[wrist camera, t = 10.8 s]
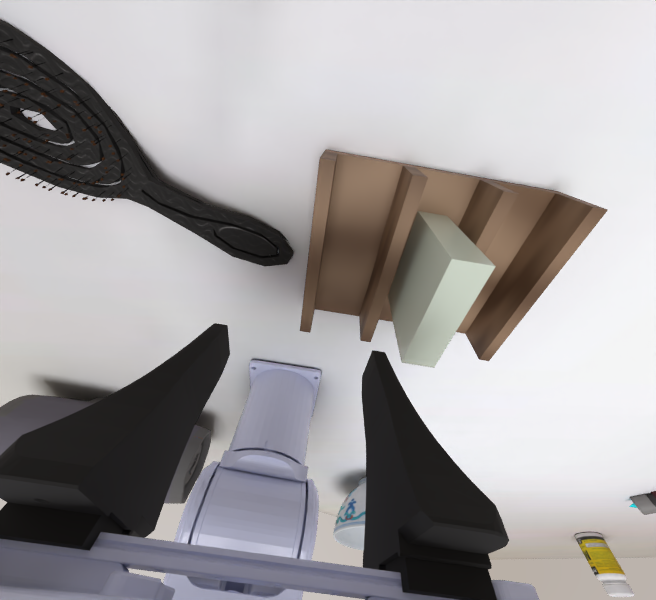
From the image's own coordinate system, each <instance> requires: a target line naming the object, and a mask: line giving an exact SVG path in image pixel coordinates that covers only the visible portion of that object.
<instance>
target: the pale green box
mask: <svg viewBox="0 0 656 600" xmlns="http://www.w3.org/2000/svg"><path fill="white" fill-rule="evenodd" d="M495 267H496V266H495V265H494V264H493V263H492V262H491V261H490V260H489V259H488V258H487V257H486V256H485V255H484V254H483V253H482V252H481V251H480V250H479V248H478V247H477V246H476V245H475V244H474V243H473V242H472V241H471V240H470V239H469V238H468V237H467V236H466V235H465V234H464V233H463V232H462V231H461V230H460V229H459V228H458V227H457V226H456V225H455V223H454V222H453V221H452V220H451V219H450V218H449V217H448V216H444V215H439V214H433V213H427V212H421V211H418V212H417V215H416V218H415V221H414V223H413V226H412V229H411V232H410V235H409V238H408V240H407V243H406V246H405V249H404V252H403V255H402V257H401V260H400V263H399V266H398V269H397V272H396V274H395V277H394V280H393V283H392V286H391V289H390V291H389V294H388V299H389V304H390V309H391V314H392V319H393V323H394V328H395V333H396V338H397V343H398V348H399V353H400V357H401V362H402V363H408V364H414V365H420V366H427V367H433V368H434V367H435V365H436V364H437V362H438V360H439V359H440V357H441V355H442V354H443V352H444V350H445V349H446V347H447V345H448V344H449V342H450V341H451V339H452V337H453V336H454V334H455V332H456V331H457V329H458V327H459V326H460V324H461V323H462V321H463V319H464V318H465V316H466V314H467V313H468V311H469V309H470V308H471V306H472V304H473V303H474V301H475V300H476V298H477V296H478V295H479V293H480V291H481V290H482V288H483V286H484V285H485V283H486V282H487V280H488V278H489V277H490V275H491V273H492V272H493V270H494V268H495Z"/></svg>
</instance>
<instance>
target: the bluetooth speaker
mask: <svg viewBox="0 0 656 600" xmlns="http://www.w3.org/2000/svg"><path fill="white" fill-rule="evenodd" d="M102 399H104V398H103V397H98V398H95V399H92V400H89V401H83V400H76V399H67V398H61V397H53V396H42V395H26V396H22V397H19V398H16V399H14V400H12V401H10V402H8V403H6V404H5V405H3V406H2V407H0V455H1V454H2V453H3V452H4V451H5V450H6V449H7V448H8V447H9V446H10V445H12V444H13V443H14V442H15V441H16V440H17V439H18V438H19V437H20V436H21V435H23V434H26V433H28V432H31V431H33V430H35V429H38V428H40V427H43V426H45V425H47V424H50V423H52V422H55V421H57V420H59V419H62V418H64V417H66V416H69V415H71V414H73V413H75V412H77V411H79V410H82V409H84V408H86V407H88V406H90V405H92V404H94V403H96V402H98V401H100V400H102ZM210 431H211V430H209V429H207V428H204V427H201V426H198V425H195V426H194V428H193V430H192V433H191V435H190V438H189V440H188V442H187V445H186V447H185V449H184V452H183V454H182V457H181V459H180V462H179V464H178V467H177V469H176V472H175V475H174V477H173V480H172V482H171V485H170V488H169V490H168V493H167V496H166V498H165V501H164V503H185V501H186V499H187V497H188V495H189V493H190V491H191V490H192V488H193V486H194V484H195V482H196V480H197V479H198V477H199V475H200V473H201V471H202V468H203V465H204V463H205V460H206V457H207V454H208V450H209V447H210V442H211V432H210Z"/></svg>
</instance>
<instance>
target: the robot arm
mask: <svg viewBox="0 0 656 600" xmlns="http://www.w3.org/2000/svg"><path fill="white" fill-rule="evenodd" d="M229 355H230V350H229V338H228V327H227V325H222V324H216V323H215V324H213V325H212V326H211V327H209V328H208V329H207V330H206V331H204V332H203V333H202V334H201V335H200V336H198V337H197V338H196V339H195V340H193V341H192V342H191V343H190V344H188V345H187V346H186V347H184V348H183V349H182V350H181V351H179V352H178V353H177V354H175V355H174V356H172V357H171V358H170V359H168V360H167V361H165V362H164V363H163V364H161V365H160V366H158V367H157V368H155V369H154V370H152V371H151V372H149V373H148V374H146V375H145V376H143V377H141V378H140V379H138V380H136V381H135V382H133V383H131V384H130V385H128V386H126V387H124V388H122V389H121V390H119V391H117V392H115V393H113V394H112V395H110V396H108V397H106V398H104V399H102V400H100V401H98V402H96V403H94V404H92V405H90V406H88V407H86V408H84V409H82V410H79V411H77V412H75V413H73V414H71V415H69V416H66V417H64V418H62V419H59V420H57V421H55V422H52V423H50V424H47V425H45V426H43V427H40V428H38V429H35V430H33V431H31V432H28V433H26V434H23V435H21V436H20V437H19V438H18V439H17V440H16V441H15V442H14V443H13V444H12V445H10V446H9V447H8V448H7V449H6V450H5V451H4V452H3V453H2V454H1V455H0V498H1V499H3V500H5V501H6V502H7V504H6V505H5V506H4V507H3V508H2V509H1V510H0V600H302V596H303V591H307V592H315V593H322V594H330V595H337V596H345V597H353V598H361V599H365V600H539V598H538V595H537V593H536V590H535V588H534V586H532V585H531V584H526V583H519V582H512V581H505V580H491V578H490V575H489V572H488V569H491V562H490V559H489V556H488V554H489V553H491V552H494V551H496V550H498V549H501V548H503V547H505V546H506V545H507V543H508V541H509V539H508V536H507V533H506V531H505V528H504V525H503V522H502V519H501V517H500V515H499V512H498V510H497V508H496V506H495V504H494V503H493V502H492V501H491V500H490V499H489V498H488V497H487V496H486V495H485V494H484V493H483V492H482V491H481V490H480V489H479V488H478V487H477V486H476V485H475V484H474V483H473V482H472V481H471V480H470V479H469V478H468V477H467V476H466V475H465V474H464V472H463V471H462V470H461V469H460V468H459V467H458V466H457V465H456V464H455V462H454V461H453V460H452V459H451V458H450V456H449V455H448V454H447V453H446V451H445V450H444V449H443V448H442V447H441V445H440V444H439V443H438V442H437V440H436V439H435V438H434V436H433V435H432V434H431V432H430V431H429V430H428V428H427V427H426V425H425V424H424V422H423V421H422V419H421V418H420V416H419V415H418V413H417V412H416V410H415V409H414V407H413V405H412V404H411V402H410V400H409V399H408V397H407V395H406V393H405V392H404V390H403V388H402V386H401V384H400V382H399V380H398V379H397V377H396V375H395V373H394V371H393V368H392V366H391V364H390V362H389V360H388V358H387V356H386V354H385V352H379V351H373V350H372V353H371V356H370V358H369V361H368V363H367V366H366V368H365V371H364V373H363V376H362V404H363V415H364V426H365V437H366V509H365V534H364V553H363V568H362V567H355V566H347V565H339V564H332V563H325V562H318V561H311V559H312V555H313V550H314V545H315V539H316V531H317V524H318V511H319V496H318V490H317V488H316V486H315V485H314V482H313V480H312V479H307V471H308V467H307V466H304V464H305V456H306V449H307V441H308V434H309V426H310V419H311V417H312V416H313V411H314V406H315V402H316V397H317V392H318V387H319V383H320V378H321V371H320V370H316V369H310V368H303V367H297V366H291V365H284V364H278V363H271V362H265V361H258V360H251V361H250V363H249V370H250V393H249V396H248V398H247V401H246V404H245V407H244V409H243V412H242V415H241V418H240V420H239V423H238V426H237V429H236V431H235V434H234V437H233V440H232V442H231V445H230V448H229V451H224V454H223V457H222V459H221V462H216V461H213V462H212V463H211V464H210V465H209V466H207V467H206V468H205V469H204V470H203V471H202V472H201V474H200V476H199V477H198V479H197V481H196V483H195V485H194V487H193V490H192V492H191V494H190V497H189V499H188V501H187V504H186V506H185V509H184V512H183V515H182V517H181V520H180V523H179V527H178V530H177V533H176V537H175V541H174V542H171V541H164V540H156V539H149V538H145V537H146V536H148V535H149V534H150V533H151V532H152V531H154V529H155V527H156V524H157V520H158V518H159V515H160V512H161V510H162V507H163V504H164V501H165V498H166V496H167V493H168V490H169V488H170V485H171V482H172V480H173V477H174V475H175V472H176V469H177V467H178V464H179V462H180V459H181V457H182V454H183V452H184V449H185V447H186V445H187V442H188V440H189V438H190V435H191V433H192V430H193V428H194V426H195V424H196V422H197V420H198V418H199V416H200V414H201V412H202V410H203V408H204V406H205V404H206V403H207V401H208V399H209V397H210V395H211V393H212V392H213V390H214V388H215V386H216V384H217V382H218V380H219V379H220V377H221V375H222V373H223V370H224V368H225V365H226V363H227V360H228V358H229ZM128 568H132V569H139V570H147V571H154V572H162V573H166V575H165V578H164V582H163V583H164V584H163V583H162V582H161V579H158V578H153V577H147V576H143V575H139V574H134V573H129V570H128Z"/></svg>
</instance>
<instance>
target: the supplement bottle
mask: <svg viewBox="0 0 656 600" xmlns="http://www.w3.org/2000/svg"><path fill="white" fill-rule="evenodd" d="M575 538H576V540H577V542H578V544H579V546H580V548H581V550H582V551H583V553H584V555H585V557H586V559H587V561H588V563H589V564H590V566H591V568H592V570H593V572H594V574H595V576H596V577H597V578H598V579H599V580H600V581H602V582H603V587H604V589H605V590H606V592H607V594H608V595H609V596H613V597H632V596H634V593H633V591H632V589H631V587H630V586H629V584H627V583H626V580H627V577H626V575H625V573H624V572H623V570H622V569H621V567H620V565H619V563H618V562H617V560H616V558H615V557H614V555H613V553H612V551H611V550H610V548H609V546H608V545H607V543H606V541H605V540H604V538H603V536H602V535H601V534H599V533H595V532H586V533H579V534H576V535H575Z"/></svg>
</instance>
